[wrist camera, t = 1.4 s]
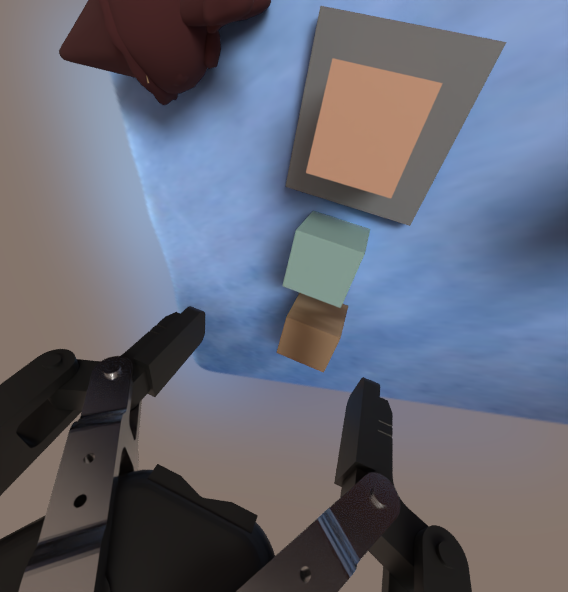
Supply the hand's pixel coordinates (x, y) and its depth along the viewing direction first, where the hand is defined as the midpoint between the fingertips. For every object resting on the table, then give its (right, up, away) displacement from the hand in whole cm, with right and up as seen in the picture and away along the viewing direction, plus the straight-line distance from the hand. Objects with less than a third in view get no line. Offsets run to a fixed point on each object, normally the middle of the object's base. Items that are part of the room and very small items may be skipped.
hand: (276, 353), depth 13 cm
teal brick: (+5, +7, +11) cm, 14 cm away
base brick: (+6, +14, +5) cm, 16 cm away
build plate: (+6, +14, +5) cm, 16 cm away
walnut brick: (+4, +1, +16) cm, 16 cm away
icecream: (-7, +21, +6) cm, 23 cm away
